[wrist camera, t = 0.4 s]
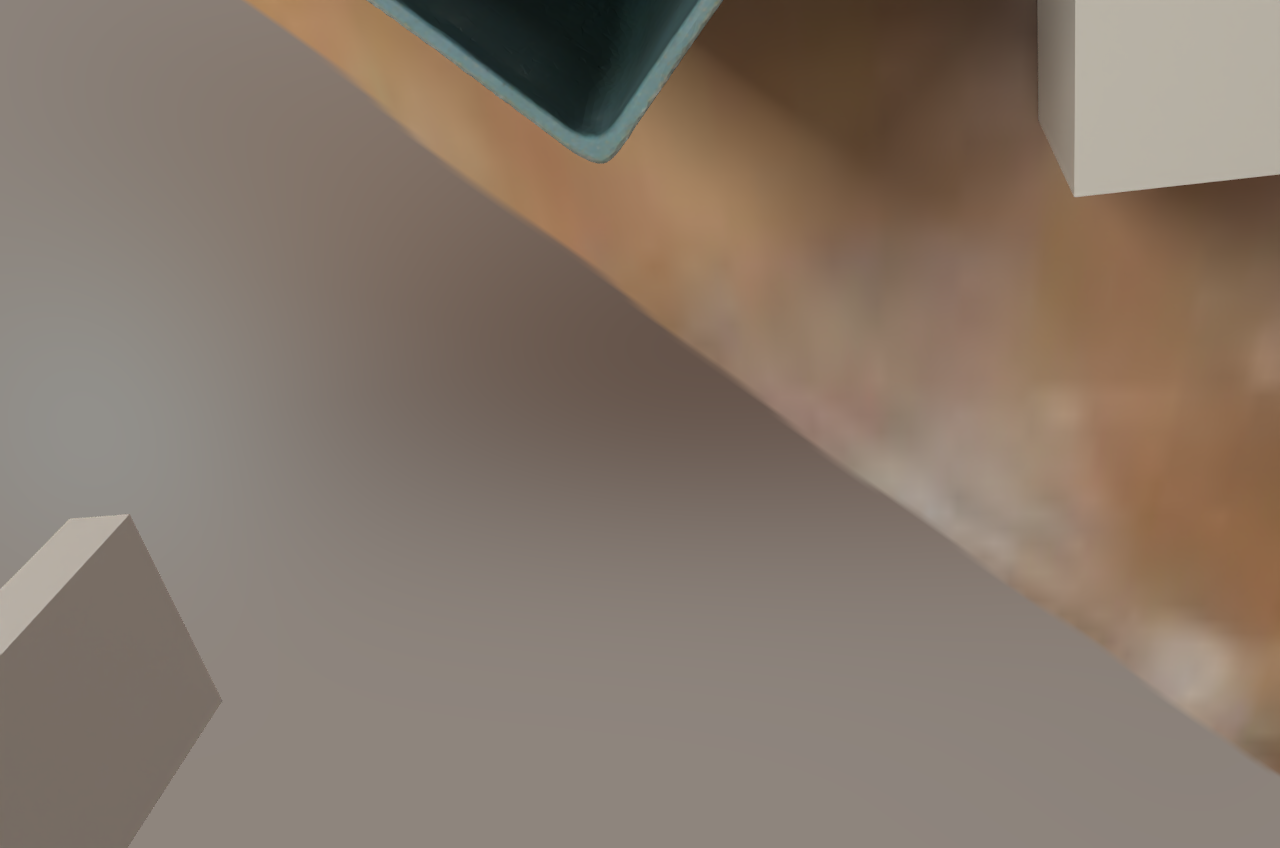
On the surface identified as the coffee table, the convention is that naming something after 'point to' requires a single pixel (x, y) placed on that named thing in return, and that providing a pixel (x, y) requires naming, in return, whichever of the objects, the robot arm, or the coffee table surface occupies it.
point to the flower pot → (564, 57)
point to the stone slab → (1159, 91)
